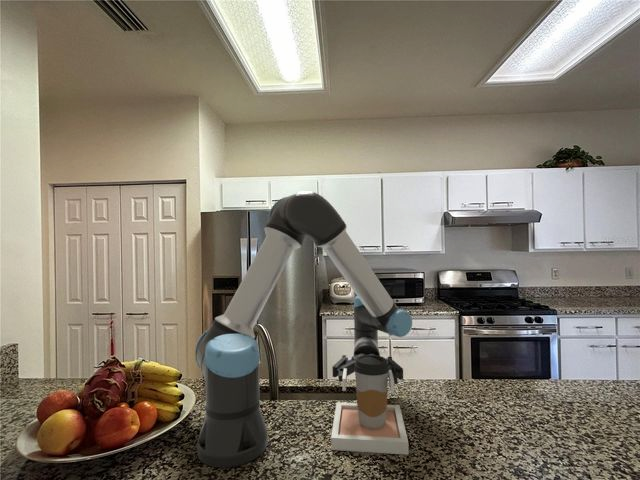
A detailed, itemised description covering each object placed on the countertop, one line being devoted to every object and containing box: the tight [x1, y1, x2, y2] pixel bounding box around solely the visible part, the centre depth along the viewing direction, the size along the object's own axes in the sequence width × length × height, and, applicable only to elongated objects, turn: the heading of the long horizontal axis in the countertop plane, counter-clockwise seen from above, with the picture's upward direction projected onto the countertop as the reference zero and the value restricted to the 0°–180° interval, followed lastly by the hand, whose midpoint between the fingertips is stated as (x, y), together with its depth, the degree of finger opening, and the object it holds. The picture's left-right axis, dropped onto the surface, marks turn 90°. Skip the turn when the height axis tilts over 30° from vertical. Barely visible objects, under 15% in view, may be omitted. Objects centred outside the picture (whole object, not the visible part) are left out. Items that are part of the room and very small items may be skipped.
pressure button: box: [340, 409, 399, 438], centre depth 79 cm, size 13×13×1 cm
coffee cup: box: [354, 355, 389, 429], centre depth 80 cm, size 8×8×15 cm
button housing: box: [330, 401, 410, 455], centre depth 79 cm, size 16×16×3 cm
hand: (368, 385), depth 75 cm, fingers open, 10 cm apart
